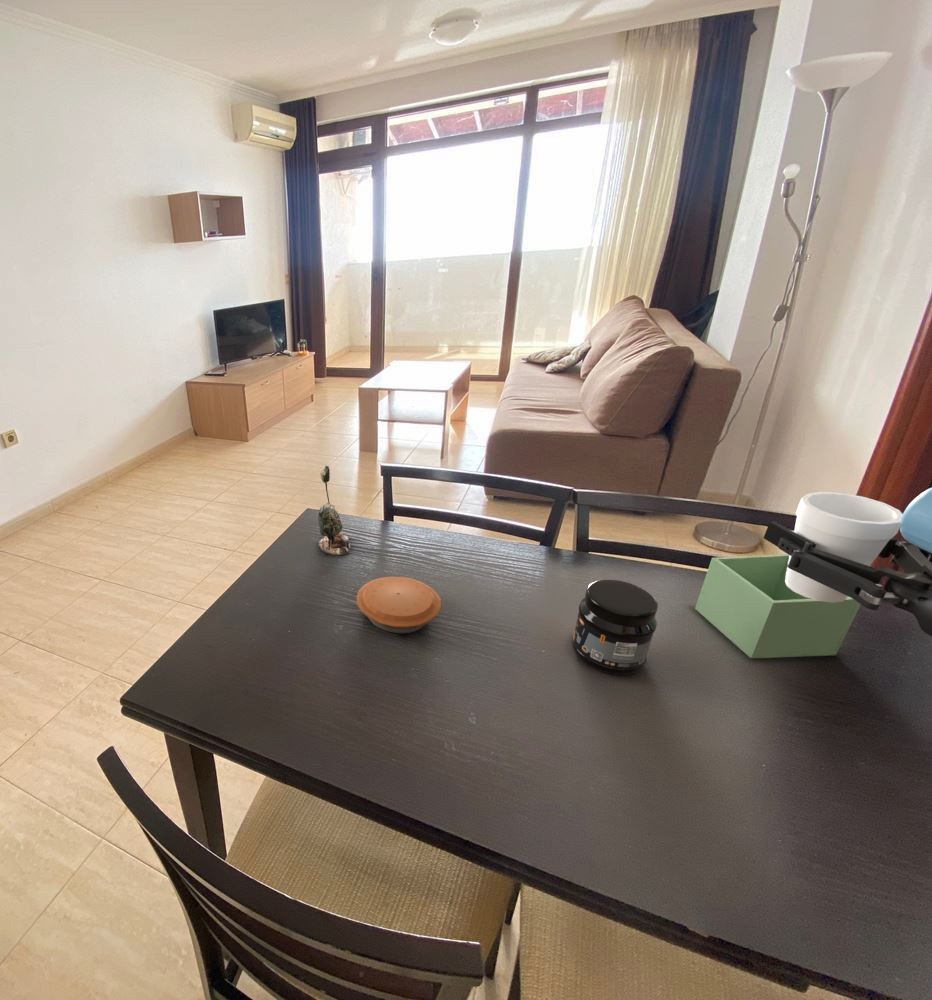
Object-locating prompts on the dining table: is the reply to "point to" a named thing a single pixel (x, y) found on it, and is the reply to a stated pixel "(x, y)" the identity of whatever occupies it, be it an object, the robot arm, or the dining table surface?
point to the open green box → (770, 609)
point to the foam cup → (841, 534)
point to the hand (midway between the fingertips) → (806, 527)
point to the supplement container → (615, 626)
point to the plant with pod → (331, 525)
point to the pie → (398, 603)
